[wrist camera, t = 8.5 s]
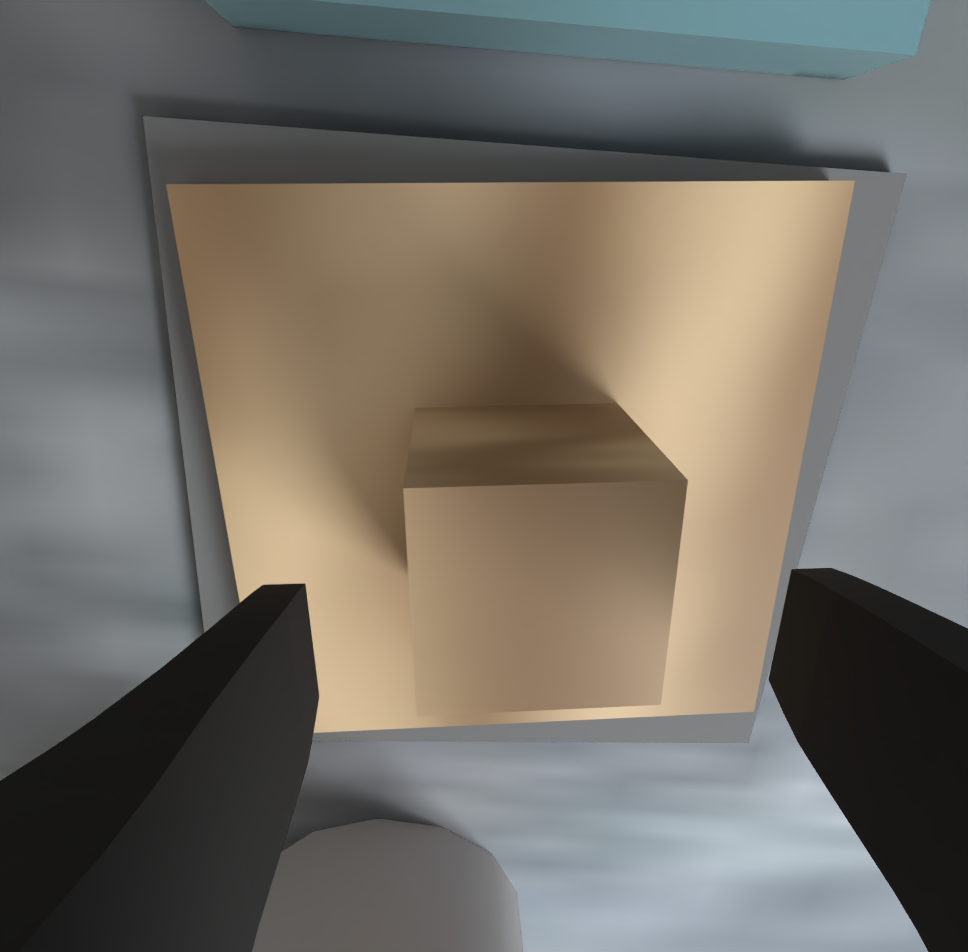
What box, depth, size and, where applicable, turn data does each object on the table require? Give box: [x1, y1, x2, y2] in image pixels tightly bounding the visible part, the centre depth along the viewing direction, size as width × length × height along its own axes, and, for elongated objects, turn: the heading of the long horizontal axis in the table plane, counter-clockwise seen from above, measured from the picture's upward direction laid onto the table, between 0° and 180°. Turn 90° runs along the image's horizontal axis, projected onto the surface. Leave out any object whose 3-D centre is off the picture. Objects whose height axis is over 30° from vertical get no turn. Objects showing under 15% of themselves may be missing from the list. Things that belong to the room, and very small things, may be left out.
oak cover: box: [166, 181, 855, 733], centre depth 12 cm, size 12×12×5 cm
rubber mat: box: [143, 116, 907, 743], centre depth 15 cm, size 14×14×1 cm
